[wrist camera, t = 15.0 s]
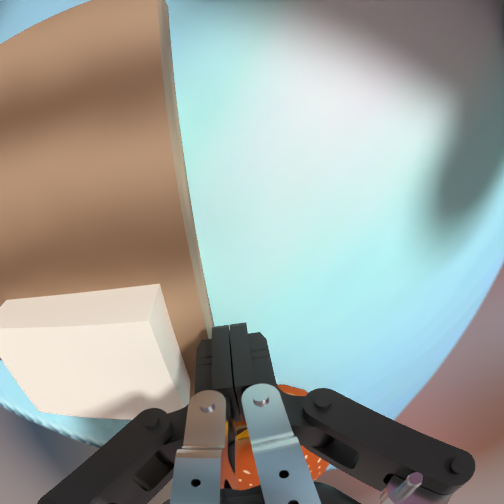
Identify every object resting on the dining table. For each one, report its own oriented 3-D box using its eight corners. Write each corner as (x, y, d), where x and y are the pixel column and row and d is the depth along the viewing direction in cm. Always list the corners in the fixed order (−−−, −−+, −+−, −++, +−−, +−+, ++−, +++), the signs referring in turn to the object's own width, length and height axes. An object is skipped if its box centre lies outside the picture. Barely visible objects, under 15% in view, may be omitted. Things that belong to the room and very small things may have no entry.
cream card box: (6, 299, 12) (-18, 328, 9) (159, 283, 12) (148, 320, 10) (52, 381, 14) (39, 411, 12) (190, 380, 15) (188, 418, 12)
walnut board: (-44, 99, 9) (-76, 103, 6) (168, 6, 10) (156, -19, 7) (44, 369, 17) (30, 397, 15) (222, 363, 18) (224, 400, 16)
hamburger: (180, 424, 21) (177, 495, 15) (260, 361, 19) (276, 448, 13) (265, 453, 24) (275, 511, 18) (343, 402, 22) (369, 467, 16)
